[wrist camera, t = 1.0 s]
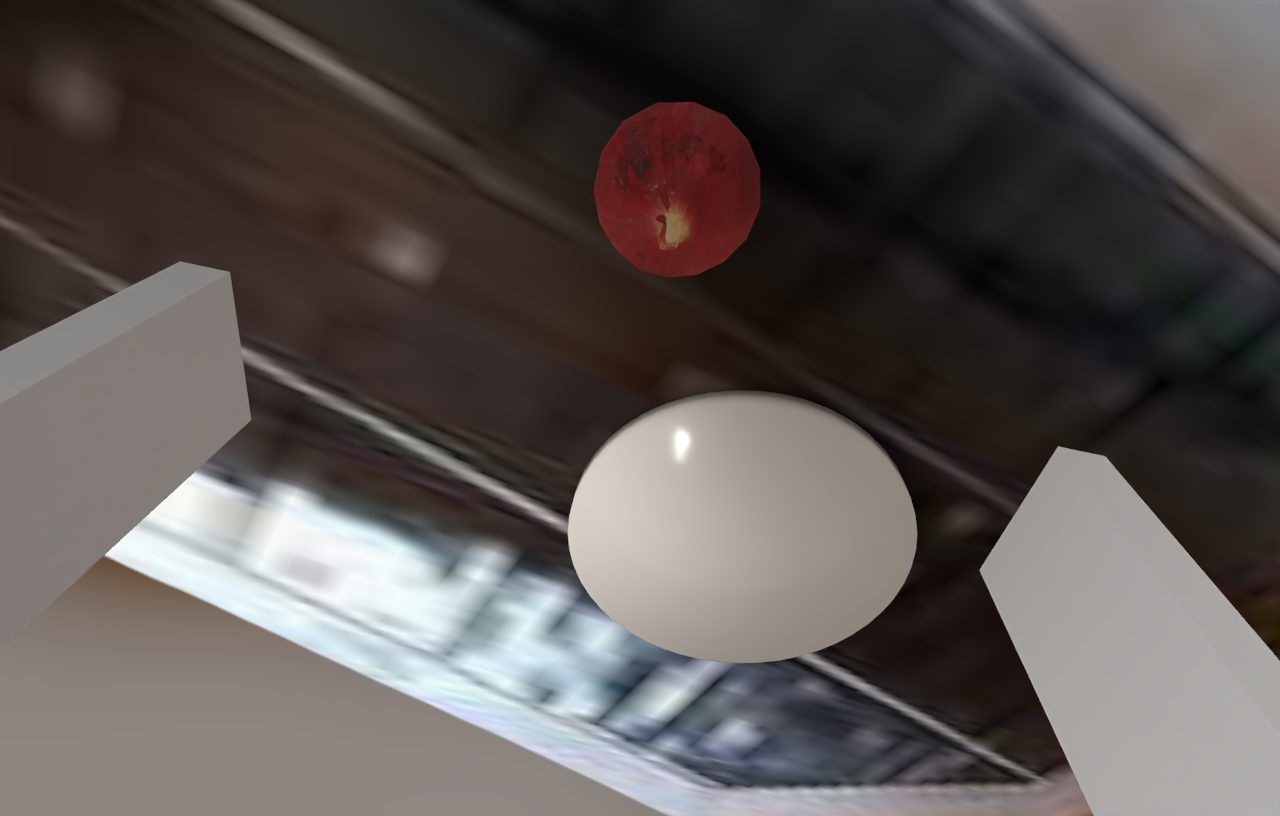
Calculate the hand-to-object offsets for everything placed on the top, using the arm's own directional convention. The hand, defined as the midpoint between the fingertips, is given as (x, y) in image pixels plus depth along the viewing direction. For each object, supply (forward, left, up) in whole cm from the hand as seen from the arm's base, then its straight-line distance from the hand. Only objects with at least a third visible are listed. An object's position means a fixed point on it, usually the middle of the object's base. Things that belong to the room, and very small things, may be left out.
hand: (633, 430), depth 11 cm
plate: (+18, +7, -19) cm, 27 cm away
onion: (0, 0, -19) cm, 19 cm away
